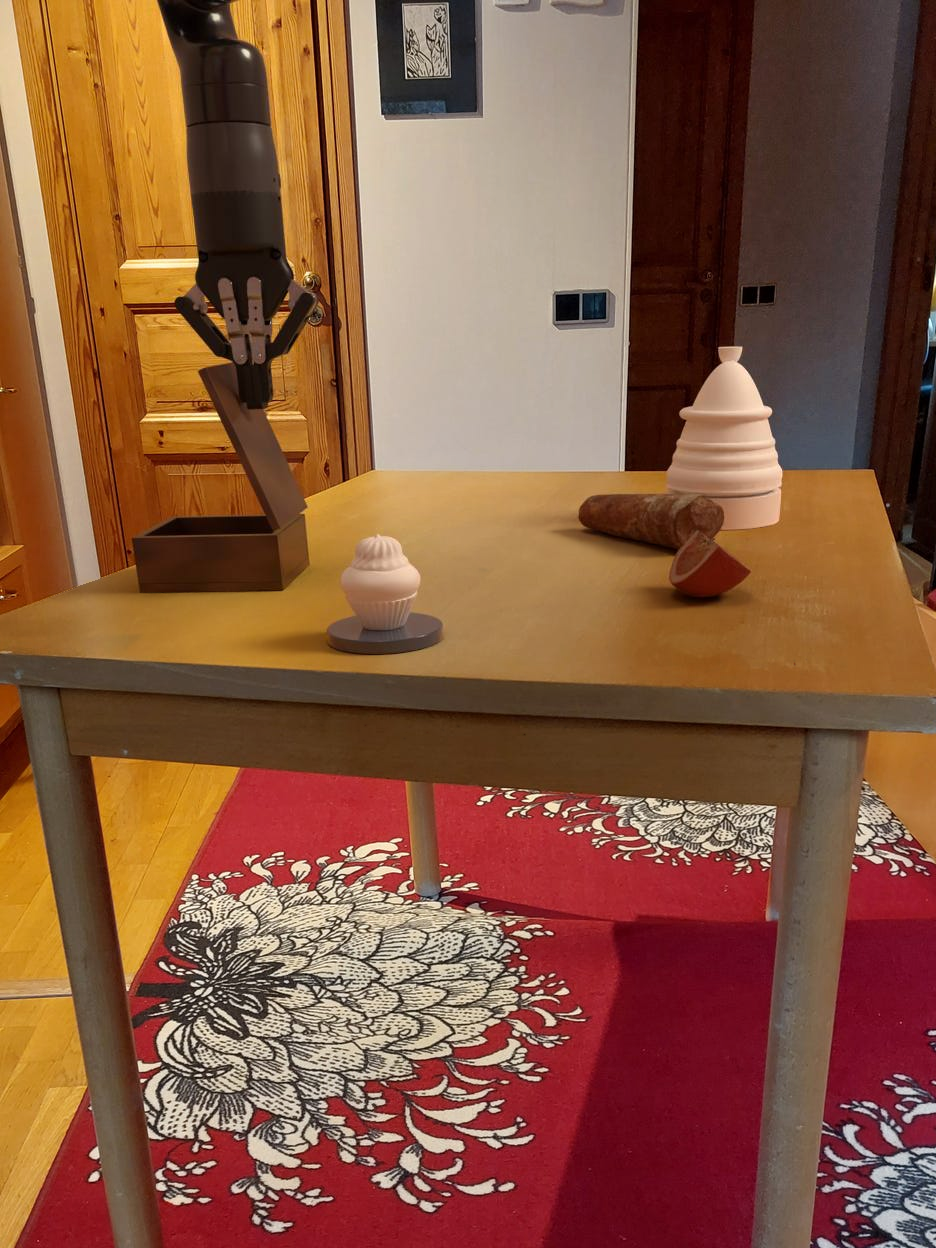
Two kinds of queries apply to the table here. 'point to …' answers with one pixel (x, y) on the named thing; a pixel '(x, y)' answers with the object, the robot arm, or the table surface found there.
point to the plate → (385, 635)
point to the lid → (254, 447)
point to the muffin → (380, 584)
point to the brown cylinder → (653, 517)
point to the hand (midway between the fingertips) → (258, 408)
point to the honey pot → (729, 448)
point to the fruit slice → (705, 568)
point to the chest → (220, 554)
